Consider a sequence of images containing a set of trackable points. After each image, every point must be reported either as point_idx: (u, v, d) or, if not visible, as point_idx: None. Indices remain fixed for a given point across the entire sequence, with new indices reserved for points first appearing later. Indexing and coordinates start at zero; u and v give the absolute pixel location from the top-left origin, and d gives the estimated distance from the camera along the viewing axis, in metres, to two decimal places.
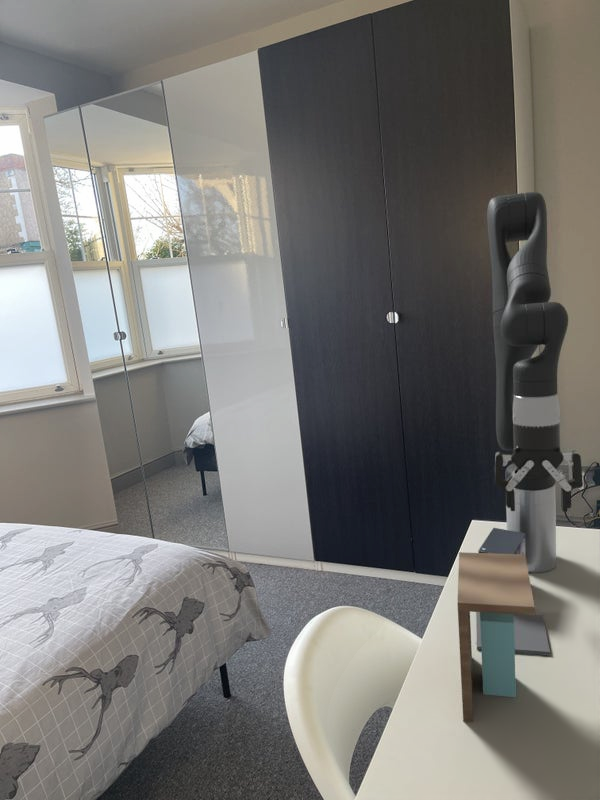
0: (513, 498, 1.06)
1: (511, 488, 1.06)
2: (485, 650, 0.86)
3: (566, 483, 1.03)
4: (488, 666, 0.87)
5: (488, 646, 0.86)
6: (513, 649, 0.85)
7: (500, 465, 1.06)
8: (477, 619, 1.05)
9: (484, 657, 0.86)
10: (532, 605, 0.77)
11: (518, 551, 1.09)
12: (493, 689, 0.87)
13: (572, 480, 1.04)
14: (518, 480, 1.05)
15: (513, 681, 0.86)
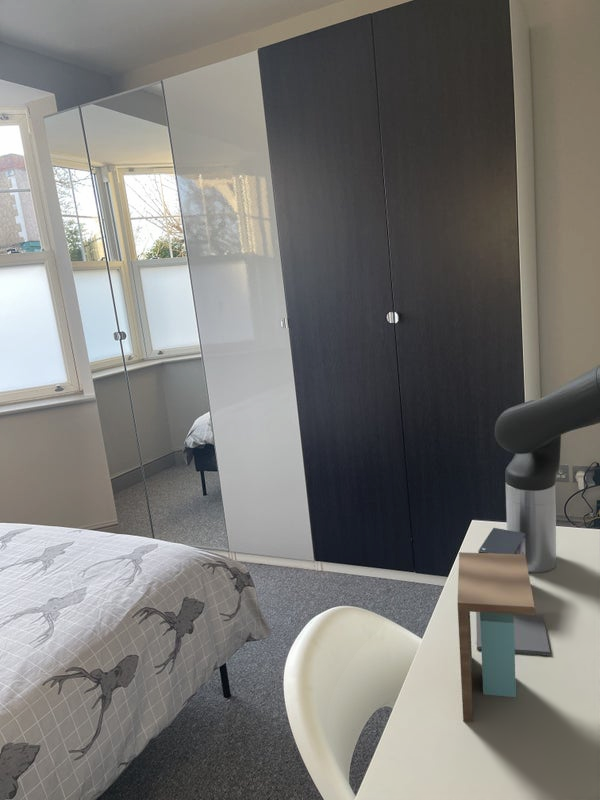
0: None
1: None
2: (485, 651, 0.86)
3: None
4: (488, 666, 0.87)
5: (488, 647, 0.86)
6: (513, 649, 0.85)
7: None
8: (477, 619, 1.05)
9: (484, 657, 0.86)
10: (532, 605, 0.77)
11: (518, 551, 1.09)
12: (493, 689, 0.87)
13: None
14: None
15: (513, 681, 0.86)
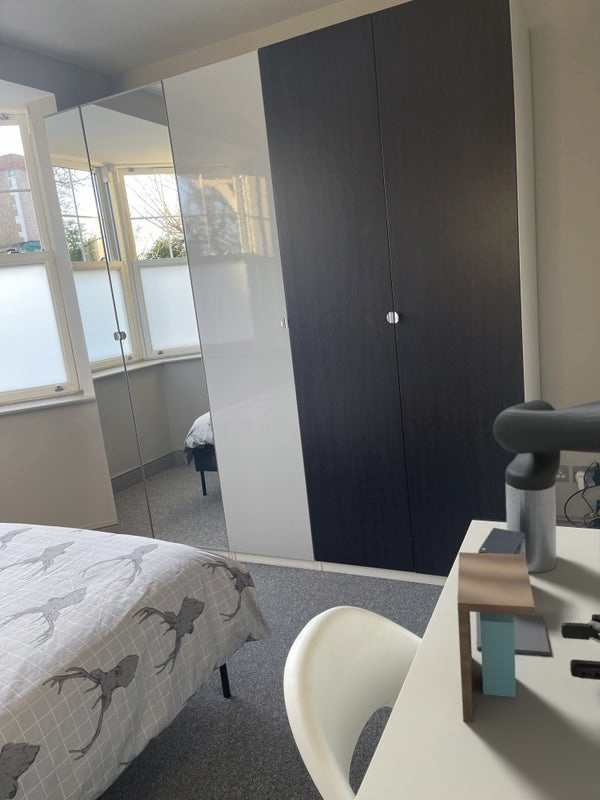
0: None
1: None
2: (485, 650, 0.86)
3: None
4: (488, 666, 0.87)
5: (488, 646, 0.86)
6: (513, 649, 0.85)
7: None
8: (477, 619, 1.05)
9: (484, 657, 0.86)
10: (532, 605, 0.77)
11: (518, 551, 1.09)
12: (493, 689, 0.87)
13: None
14: None
15: (513, 681, 0.86)
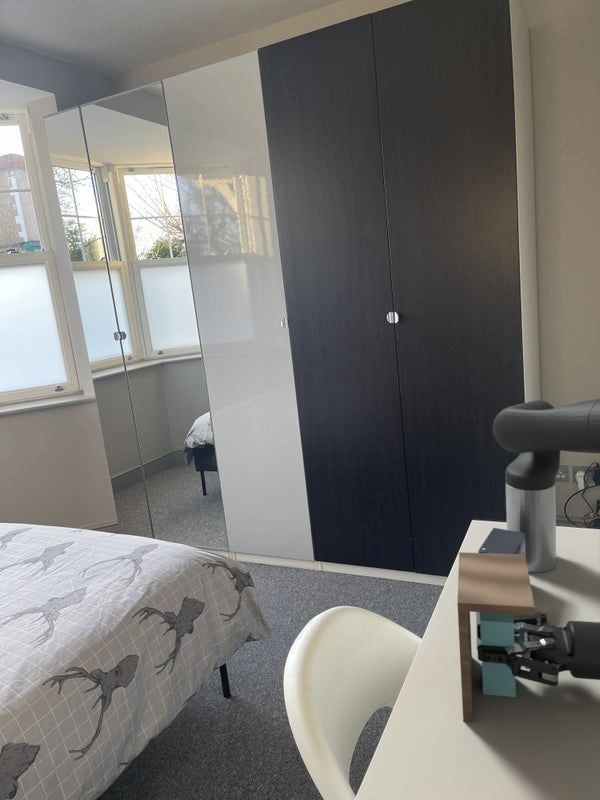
0: None
1: None
2: None
3: (514, 640, 0.90)
4: (488, 666, 0.87)
5: None
6: None
7: None
8: (477, 619, 1.05)
9: None
10: (532, 605, 0.77)
11: (518, 551, 1.09)
12: (493, 689, 0.87)
13: None
14: None
15: (513, 681, 0.86)
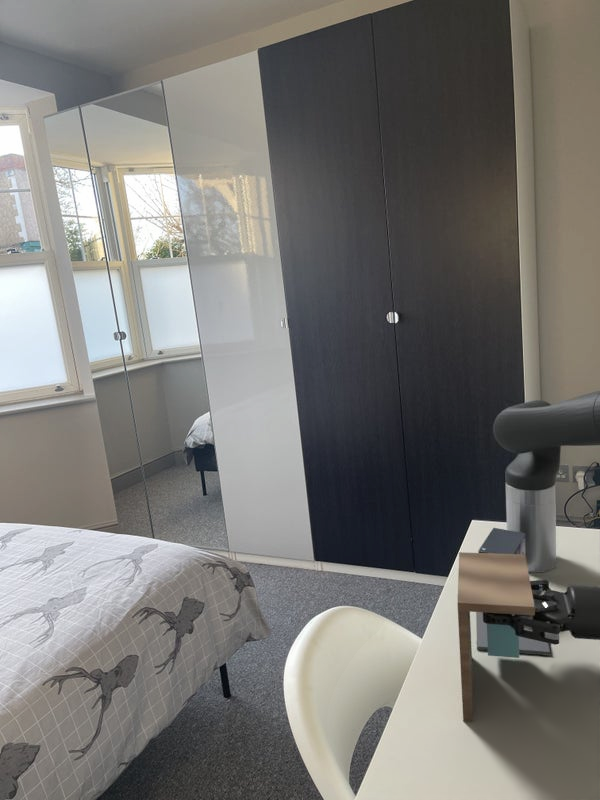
0: None
1: None
2: None
3: None
4: (492, 628, 0.91)
5: None
6: None
7: None
8: (477, 619, 1.05)
9: None
10: (532, 605, 0.77)
11: (518, 551, 1.09)
12: (498, 650, 0.92)
13: None
14: None
15: (516, 642, 0.91)
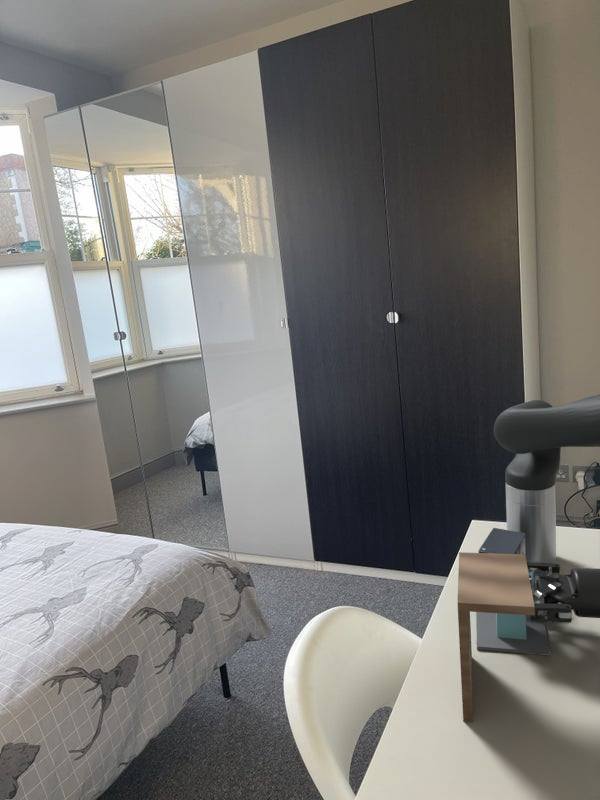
0: None
1: None
2: None
3: None
4: None
5: None
6: None
7: None
8: (477, 619, 1.05)
9: None
10: (532, 605, 0.77)
11: (518, 551, 1.09)
12: (506, 632, 0.99)
13: None
14: None
15: (524, 625, 0.97)
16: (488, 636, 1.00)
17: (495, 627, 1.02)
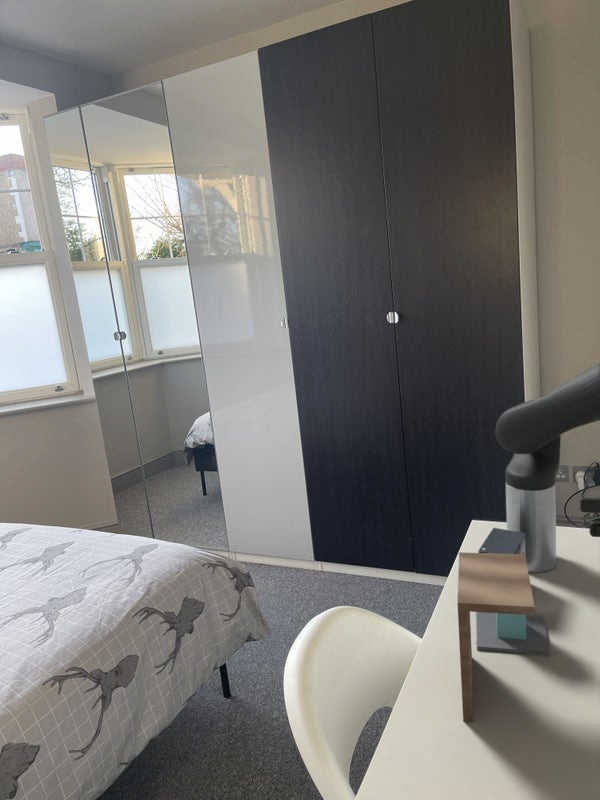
0: None
1: None
2: None
3: None
4: None
5: None
6: None
7: None
8: (477, 619, 1.05)
9: None
10: (532, 605, 0.77)
11: (518, 551, 1.09)
12: (506, 632, 0.99)
13: None
14: None
15: (524, 625, 0.97)
16: (488, 636, 1.00)
17: (495, 627, 1.02)
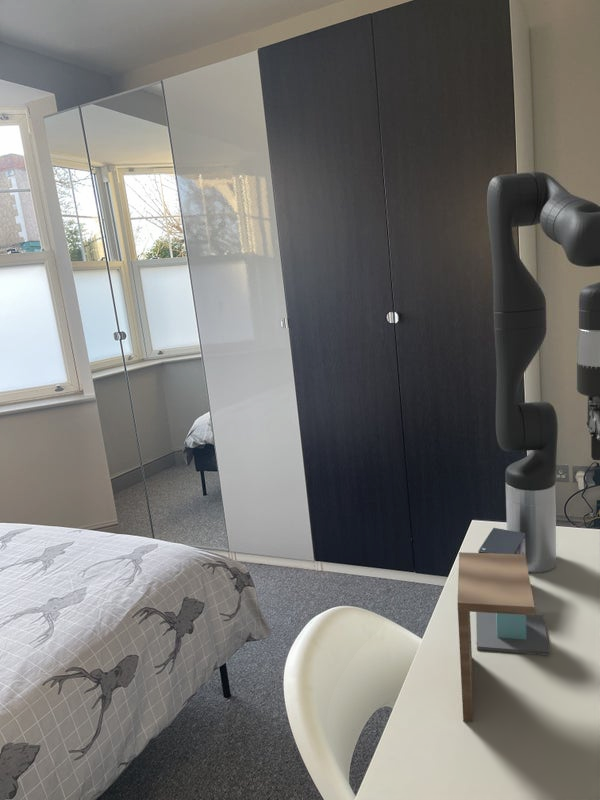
0: None
1: None
2: None
3: None
4: None
5: None
6: None
7: None
8: (477, 619, 1.05)
9: None
10: (532, 605, 0.77)
11: (518, 551, 1.09)
12: (506, 632, 0.99)
13: None
14: None
15: (524, 625, 0.97)
16: (488, 636, 1.00)
17: (495, 627, 1.02)
